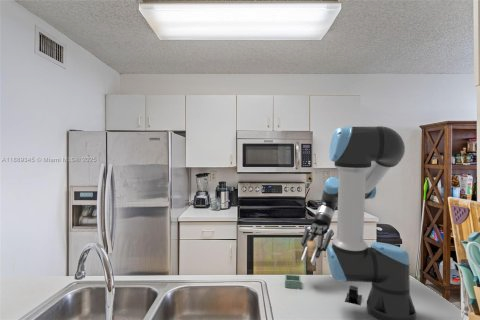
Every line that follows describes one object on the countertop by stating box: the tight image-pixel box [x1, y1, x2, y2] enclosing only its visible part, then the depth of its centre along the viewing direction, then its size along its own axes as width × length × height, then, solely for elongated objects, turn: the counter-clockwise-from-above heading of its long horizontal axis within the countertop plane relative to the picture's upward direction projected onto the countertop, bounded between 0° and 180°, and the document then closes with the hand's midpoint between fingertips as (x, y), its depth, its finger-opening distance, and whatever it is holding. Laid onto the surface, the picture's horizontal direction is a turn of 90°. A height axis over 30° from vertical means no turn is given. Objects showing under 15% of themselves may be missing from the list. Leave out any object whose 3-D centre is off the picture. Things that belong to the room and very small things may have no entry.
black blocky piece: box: [344, 285, 363, 306], centre depth 106 cm, size 12×7×5 cm, turn 152°
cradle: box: [284, 274, 302, 290], centre depth 118 cm, size 7×7×3 cm
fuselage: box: [306, 240, 317, 272], centre depth 117 cm, size 4×4×12 cm
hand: (307, 262), depth 114 cm, fingers closed on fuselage, 3 cm apart
